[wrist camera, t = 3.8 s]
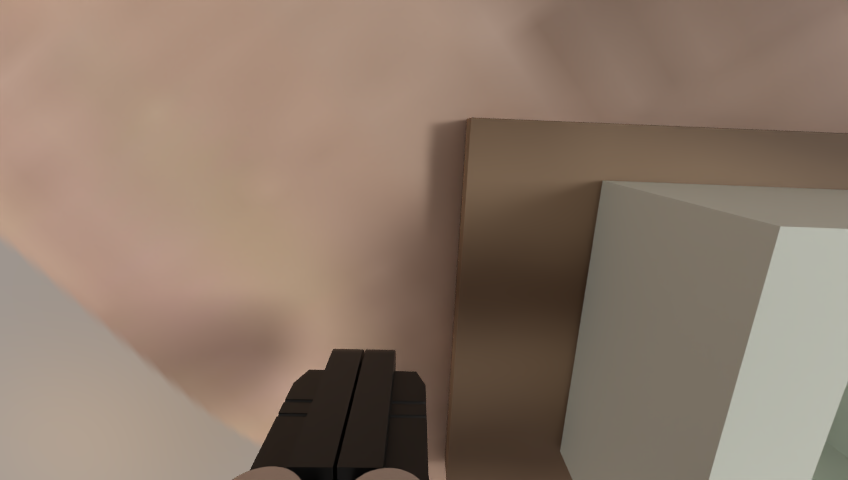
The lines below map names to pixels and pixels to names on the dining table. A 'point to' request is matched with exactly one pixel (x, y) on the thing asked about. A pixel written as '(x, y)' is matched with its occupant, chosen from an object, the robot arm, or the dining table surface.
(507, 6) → the dining table surface
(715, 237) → the hole block
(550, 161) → the walnut angle bracket
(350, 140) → the dining table surface
